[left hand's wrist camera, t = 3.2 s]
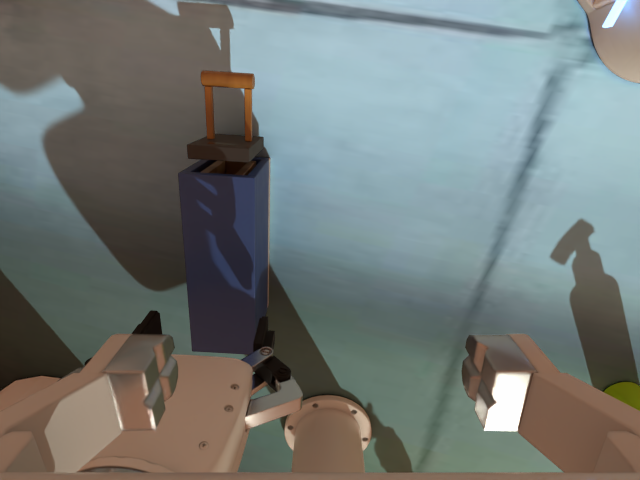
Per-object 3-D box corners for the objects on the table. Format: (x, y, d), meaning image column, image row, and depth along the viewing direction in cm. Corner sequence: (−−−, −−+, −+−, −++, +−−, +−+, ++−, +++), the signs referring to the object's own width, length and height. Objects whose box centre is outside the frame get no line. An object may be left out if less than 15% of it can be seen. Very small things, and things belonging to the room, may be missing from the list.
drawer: (210, 71, 38) (181, 68, 30) (263, 75, 38) (248, 72, 30) (219, 281, 47) (198, 318, 39) (262, 283, 47) (250, 321, 39)
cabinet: (210, 153, 42) (177, 172, 33) (270, 157, 42) (254, 177, 33) (217, 301, 49) (191, 351, 39) (268, 304, 49) (255, 355, 40)
